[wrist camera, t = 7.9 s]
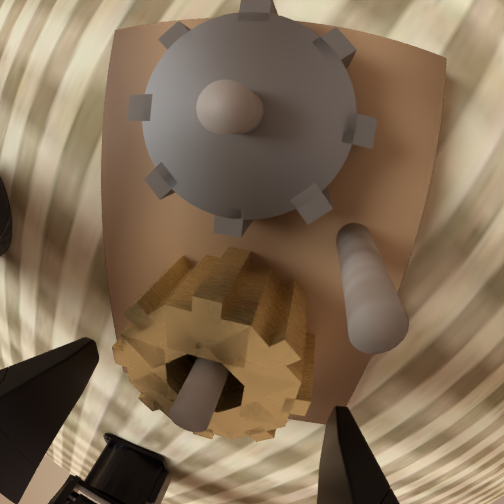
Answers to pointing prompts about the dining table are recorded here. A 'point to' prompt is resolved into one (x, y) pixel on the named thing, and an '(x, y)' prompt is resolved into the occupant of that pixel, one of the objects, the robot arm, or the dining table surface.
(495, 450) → the dining table surface
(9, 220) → the travel mug
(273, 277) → the brass gear
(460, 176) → the dining table surface
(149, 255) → the gear board
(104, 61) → the dining table surface
